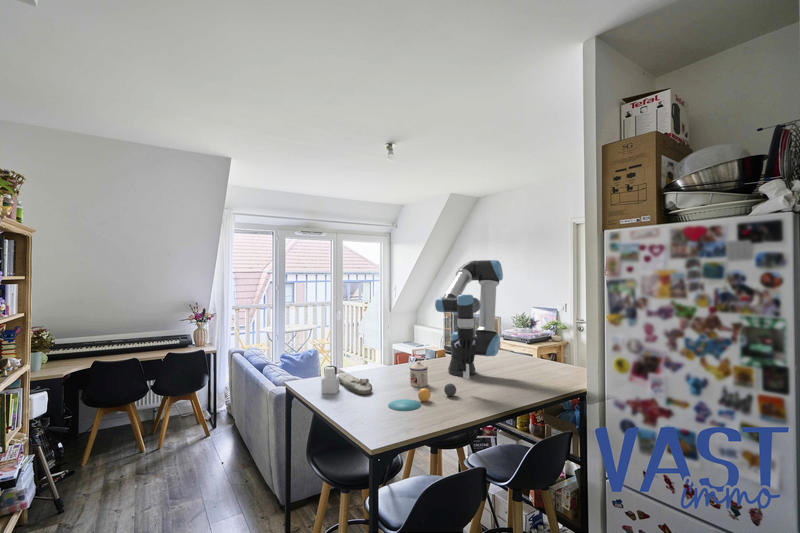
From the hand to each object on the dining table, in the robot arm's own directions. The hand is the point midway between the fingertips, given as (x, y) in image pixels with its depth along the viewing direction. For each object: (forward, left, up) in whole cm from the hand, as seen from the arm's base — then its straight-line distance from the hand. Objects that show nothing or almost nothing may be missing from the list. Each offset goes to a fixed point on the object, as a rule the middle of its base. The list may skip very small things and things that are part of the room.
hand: (466, 378), depth 181 cm
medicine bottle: (+54, -35, -7) cm, 65 cm away
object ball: (+23, 0, -4) cm, 24 cm away
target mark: (+33, 0, -7) cm, 34 cm away
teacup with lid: (+12, -21, -7) cm, 25 cm away
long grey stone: (+41, -38, -8) cm, 57 cm away
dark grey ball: (+9, 0, -4) cm, 10 cm away
